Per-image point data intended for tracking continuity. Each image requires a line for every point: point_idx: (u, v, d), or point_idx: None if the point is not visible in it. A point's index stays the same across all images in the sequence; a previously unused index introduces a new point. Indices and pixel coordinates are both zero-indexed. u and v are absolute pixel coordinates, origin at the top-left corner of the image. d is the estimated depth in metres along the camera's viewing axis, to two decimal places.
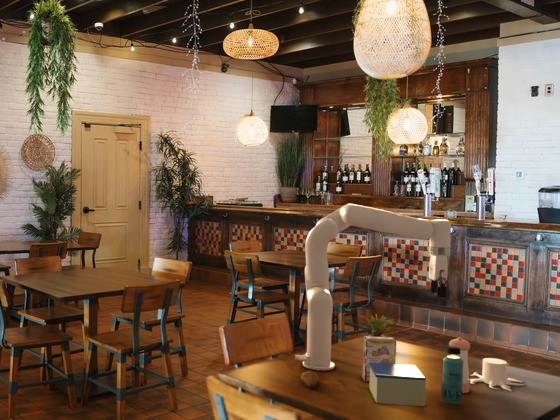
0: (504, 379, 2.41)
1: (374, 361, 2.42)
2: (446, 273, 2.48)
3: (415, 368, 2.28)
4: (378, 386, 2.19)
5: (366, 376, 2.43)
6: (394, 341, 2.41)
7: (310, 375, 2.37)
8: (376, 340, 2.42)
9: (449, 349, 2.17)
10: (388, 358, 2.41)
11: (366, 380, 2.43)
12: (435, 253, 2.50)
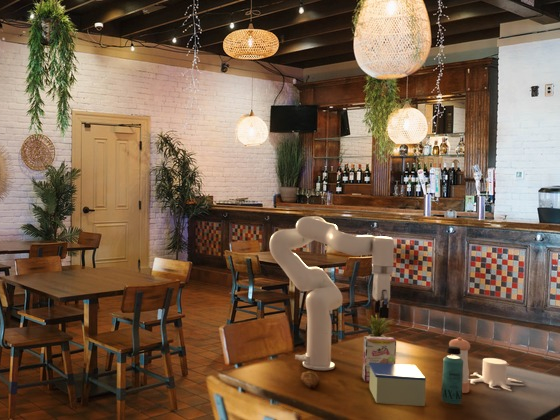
0: (504, 379, 2.41)
1: (374, 361, 2.42)
2: (388, 293, 2.38)
3: (415, 368, 2.28)
4: (378, 386, 2.19)
5: (366, 376, 2.43)
6: (394, 341, 2.41)
7: (310, 375, 2.37)
8: (376, 340, 2.42)
9: (449, 349, 2.17)
10: (388, 358, 2.41)
11: (366, 380, 2.43)
12: (377, 272, 2.40)
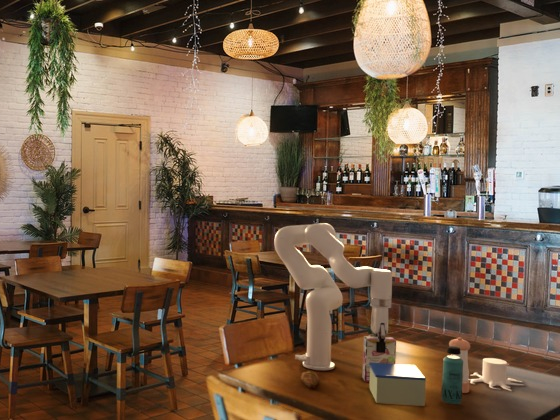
0: (504, 379, 2.41)
1: (374, 361, 2.42)
2: (386, 326, 2.38)
3: (415, 368, 2.28)
4: (378, 386, 2.19)
5: (366, 376, 2.43)
6: (394, 341, 2.41)
7: (310, 375, 2.37)
8: (376, 340, 2.42)
9: (449, 349, 2.17)
10: (388, 358, 2.41)
11: (366, 380, 2.43)
12: (376, 305, 2.40)
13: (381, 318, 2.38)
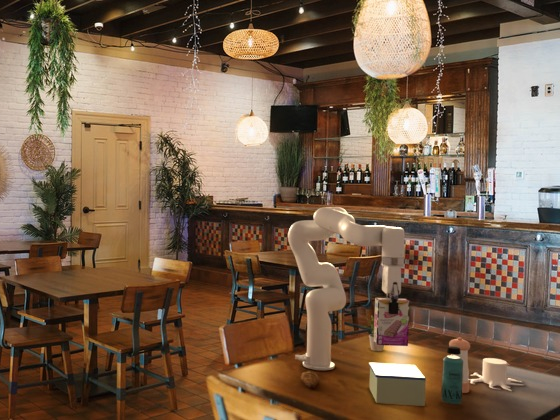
0: (504, 379, 2.41)
1: (386, 323, 2.30)
2: (399, 286, 2.26)
3: (415, 368, 2.28)
4: (378, 386, 2.19)
5: (378, 339, 2.30)
6: (407, 302, 2.29)
7: (310, 375, 2.37)
8: (388, 301, 2.30)
9: (449, 349, 2.17)
10: (401, 319, 2.29)
11: (378, 343, 2.30)
12: (387, 264, 2.28)
13: (394, 277, 2.26)
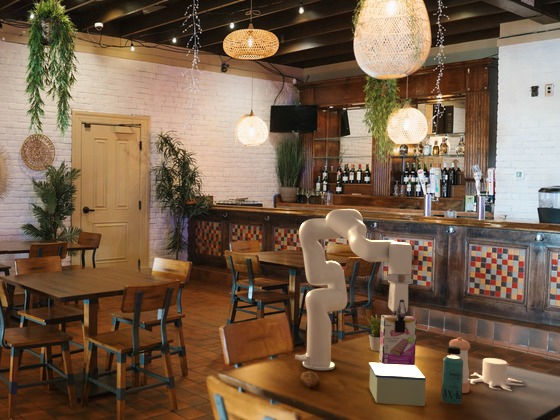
0: (504, 379, 2.41)
1: (393, 342, 2.23)
2: (406, 304, 2.20)
3: (415, 368, 2.28)
4: (378, 386, 2.19)
5: (384, 358, 2.24)
6: (414, 320, 2.22)
7: (310, 375, 2.37)
8: (395, 319, 2.23)
9: (449, 349, 2.17)
10: (407, 338, 2.23)
11: (384, 362, 2.24)
12: (394, 281, 2.22)
13: (400, 295, 2.20)
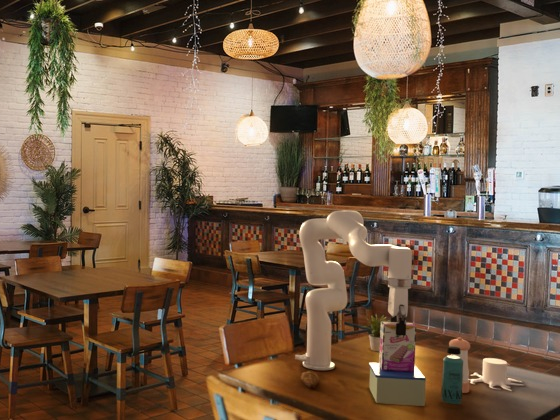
0: (504, 379, 2.41)
1: (392, 348, 2.23)
2: (406, 308, 2.20)
3: (415, 368, 2.28)
4: (378, 386, 2.19)
5: (383, 365, 2.24)
6: (414, 326, 2.22)
7: (310, 375, 2.37)
8: (394, 325, 2.23)
9: (449, 349, 2.17)
10: (407, 345, 2.23)
11: (383, 369, 2.24)
12: (394, 285, 2.22)
13: (400, 299, 2.20)
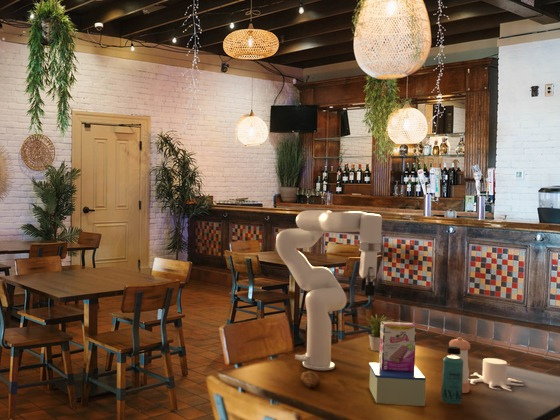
0: (504, 379, 2.41)
1: (392, 348, 2.23)
2: (375, 271, 2.35)
3: (415, 368, 2.28)
4: (378, 386, 2.19)
5: (383, 365, 2.24)
6: (414, 326, 2.22)
7: (310, 375, 2.37)
8: (394, 325, 2.23)
9: (449, 349, 2.17)
10: (407, 345, 2.23)
11: (383, 369, 2.24)
12: (364, 249, 2.37)
13: (369, 262, 2.35)
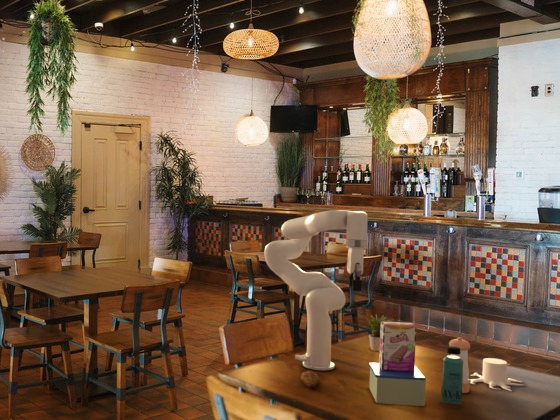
0: (504, 379, 2.41)
1: (392, 348, 2.23)
2: (362, 266, 2.42)
3: (415, 368, 2.28)
4: (378, 386, 2.19)
5: (383, 365, 2.24)
6: (414, 326, 2.22)
7: (310, 375, 2.37)
8: (394, 325, 2.23)
9: (449, 349, 2.17)
10: (407, 345, 2.23)
11: (383, 369, 2.24)
12: (351, 246, 2.44)
13: (356, 258, 2.42)
